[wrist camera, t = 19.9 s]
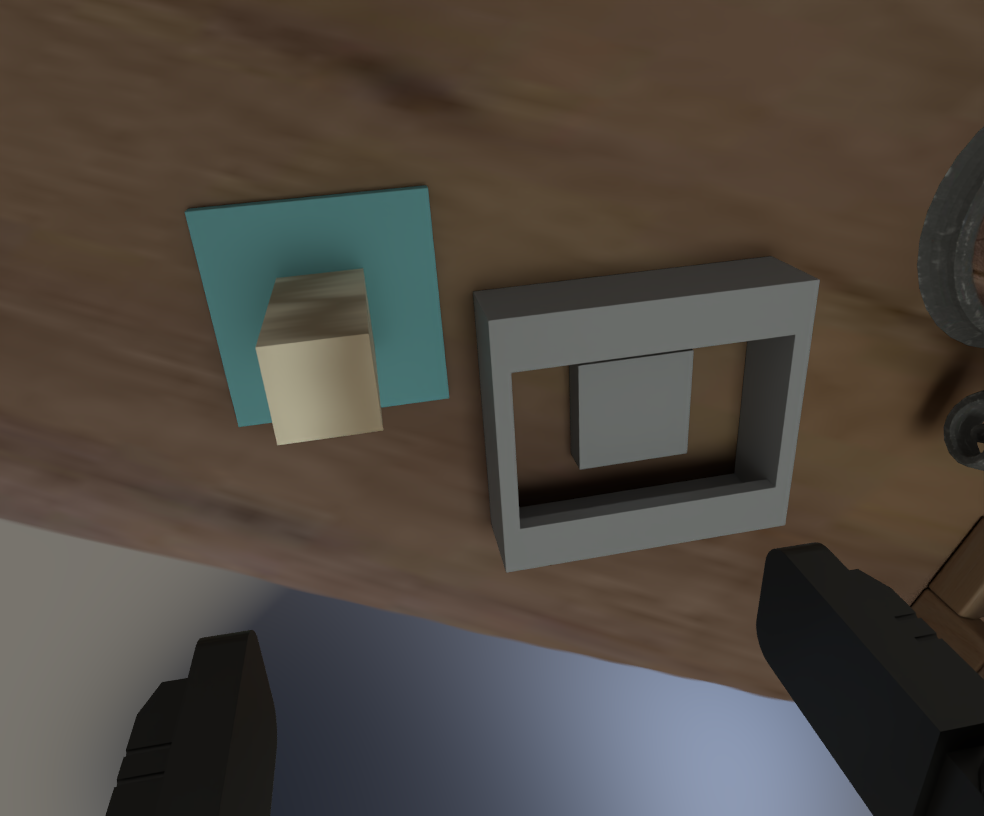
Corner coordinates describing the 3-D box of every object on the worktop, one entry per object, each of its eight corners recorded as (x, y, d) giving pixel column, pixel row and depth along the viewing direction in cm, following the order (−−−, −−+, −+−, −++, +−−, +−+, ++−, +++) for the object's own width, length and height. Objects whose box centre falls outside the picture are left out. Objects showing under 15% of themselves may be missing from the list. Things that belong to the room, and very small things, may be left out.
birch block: (292, 357, 40) (277, 445, 31) (276, 278, 38) (255, 347, 29) (374, 347, 41) (383, 430, 32) (363, 268, 39) (368, 333, 30)
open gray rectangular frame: (491, 524, 48) (506, 572, 44) (472, 291, 41) (488, 320, 37) (746, 483, 51) (785, 525, 46) (771, 256, 43) (819, 279, 39)
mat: (240, 420, 42) (238, 426, 41) (187, 208, 36) (184, 211, 36) (447, 392, 43) (449, 398, 43) (426, 185, 38) (427, 187, 37)
